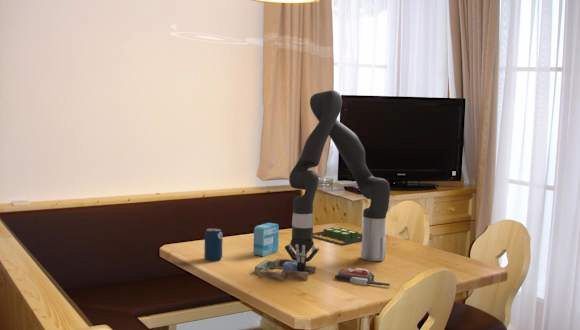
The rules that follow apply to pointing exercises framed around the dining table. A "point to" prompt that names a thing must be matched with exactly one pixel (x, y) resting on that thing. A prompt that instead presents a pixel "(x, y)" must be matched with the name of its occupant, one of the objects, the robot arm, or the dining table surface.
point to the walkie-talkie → (358, 276)
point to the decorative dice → (289, 266)
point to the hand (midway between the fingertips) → (301, 272)
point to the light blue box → (266, 239)
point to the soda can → (213, 244)
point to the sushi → (339, 236)
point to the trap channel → (278, 263)
